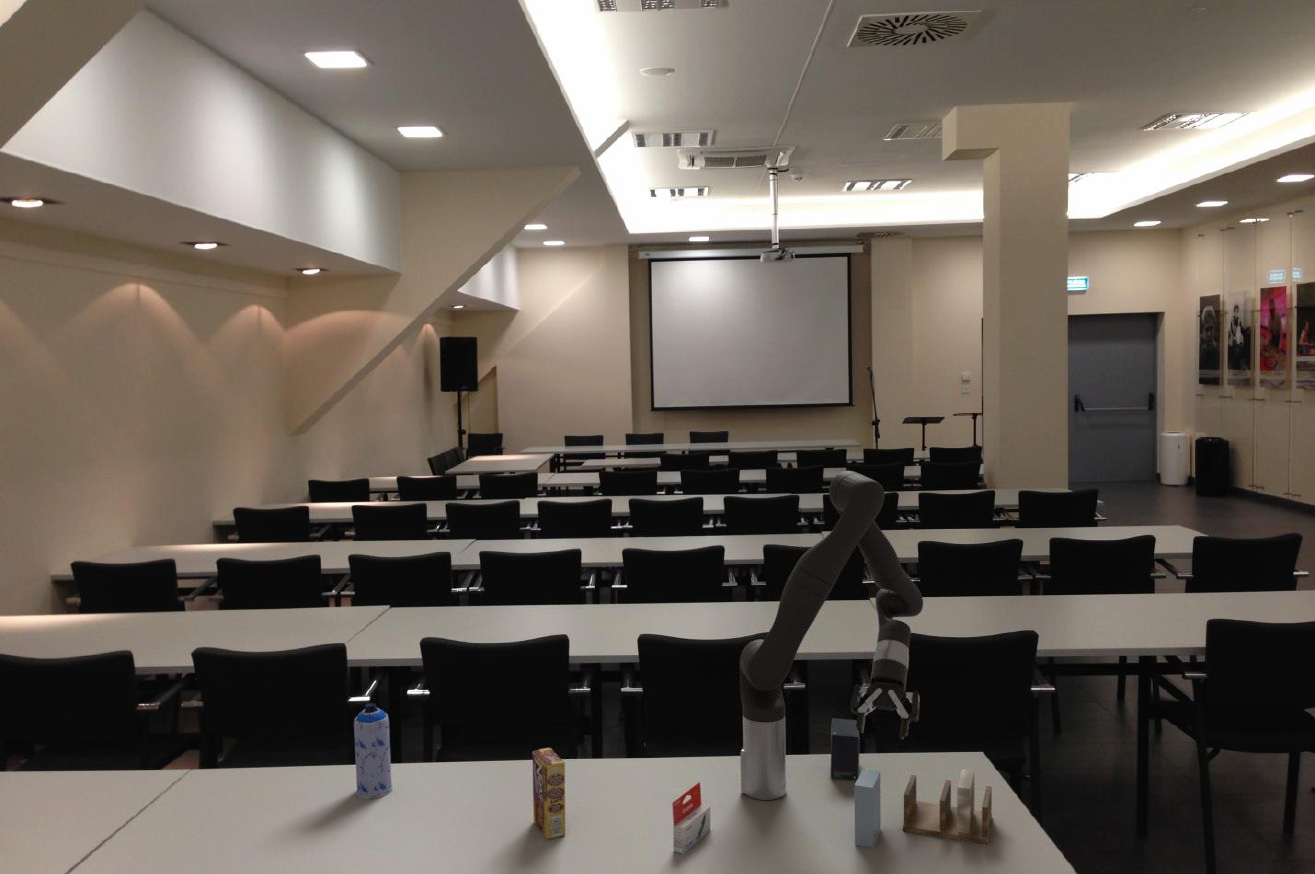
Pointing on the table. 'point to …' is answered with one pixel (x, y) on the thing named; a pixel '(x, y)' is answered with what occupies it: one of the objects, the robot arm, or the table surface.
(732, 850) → the table surface
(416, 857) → the table surface
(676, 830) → the ink cartridge box
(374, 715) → the aerosol can
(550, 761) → the candy box
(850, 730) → the small box
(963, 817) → the rack
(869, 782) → the pale blue upright slab
